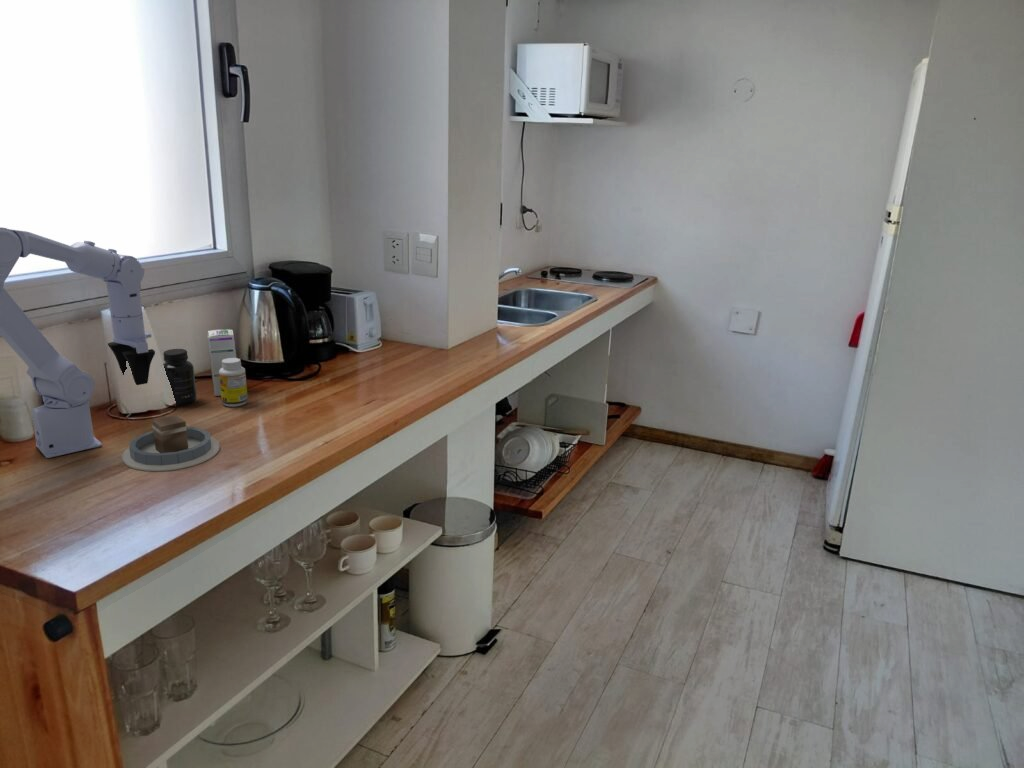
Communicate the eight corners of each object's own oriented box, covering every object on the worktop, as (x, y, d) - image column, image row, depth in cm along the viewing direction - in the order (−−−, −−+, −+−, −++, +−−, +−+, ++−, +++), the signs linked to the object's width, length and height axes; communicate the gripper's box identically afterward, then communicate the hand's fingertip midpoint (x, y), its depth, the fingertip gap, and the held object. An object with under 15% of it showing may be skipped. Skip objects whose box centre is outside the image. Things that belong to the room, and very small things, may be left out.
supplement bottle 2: (222, 400, 173) (218, 357, 170) (248, 398, 175) (244, 355, 172) (221, 408, 168) (217, 364, 165) (247, 406, 170) (244, 362, 167)
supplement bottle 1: (159, 401, 171) (153, 350, 167) (189, 395, 176) (184, 345, 172) (171, 409, 166) (165, 357, 163) (202, 403, 171) (197, 352, 167)
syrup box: (240, 394, 178) (235, 334, 173) (213, 396, 175) (207, 335, 171) (239, 386, 183) (234, 328, 178) (212, 389, 180) (207, 329, 176)
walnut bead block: (164, 456, 141) (160, 426, 140) (155, 449, 145) (151, 419, 143) (189, 450, 144) (185, 421, 143) (179, 443, 148) (176, 414, 146)
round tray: (141, 479, 133) (139, 466, 132) (109, 450, 145) (107, 437, 144) (234, 455, 144) (233, 442, 144) (198, 429, 156) (197, 418, 155)
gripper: (160, 318, 150) (168, 384, 154) (135, 305, 159) (143, 367, 164) (122, 323, 145) (131, 391, 149) (98, 310, 155) (107, 373, 159)
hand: (135, 379), depth 156 cm, fingers open, 7 cm apart
